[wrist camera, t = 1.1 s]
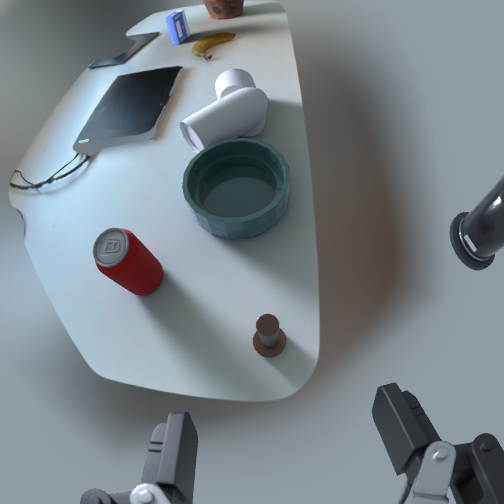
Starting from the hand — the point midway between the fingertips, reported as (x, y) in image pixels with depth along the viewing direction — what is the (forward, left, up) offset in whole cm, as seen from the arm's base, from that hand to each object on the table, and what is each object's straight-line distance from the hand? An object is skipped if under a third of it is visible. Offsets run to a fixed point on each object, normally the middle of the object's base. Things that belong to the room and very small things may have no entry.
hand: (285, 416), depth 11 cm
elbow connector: (+8, -48, -29) cm, 57 cm away
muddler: (+1, -6, -29) cm, 29 cm away
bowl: (+5, -30, -29) cm, 42 cm away
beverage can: (+20, -16, -29) cm, 39 cm away
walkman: (+27, -101, -29) cm, 109 cm away
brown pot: (+13, -124, -29) cm, 128 cm away
